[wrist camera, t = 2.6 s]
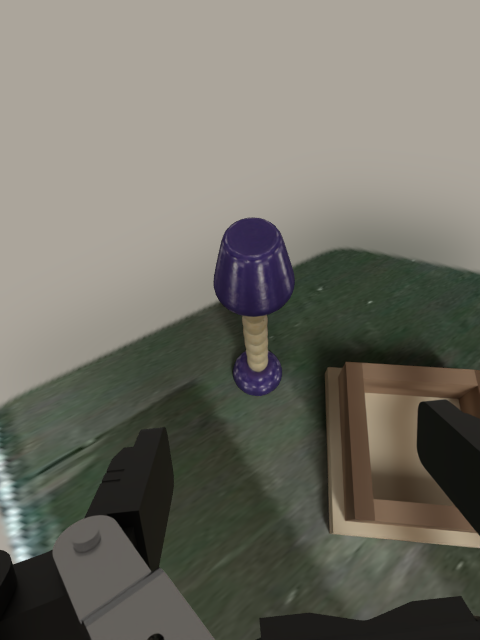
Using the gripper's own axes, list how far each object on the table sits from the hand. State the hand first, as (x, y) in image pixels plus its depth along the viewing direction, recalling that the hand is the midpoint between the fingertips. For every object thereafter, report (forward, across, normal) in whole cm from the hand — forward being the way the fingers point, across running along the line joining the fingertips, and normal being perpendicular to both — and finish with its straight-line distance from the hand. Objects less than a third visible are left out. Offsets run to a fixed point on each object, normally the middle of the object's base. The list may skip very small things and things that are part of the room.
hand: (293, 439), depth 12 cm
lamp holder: (+14, -11, +12) cm, 21 cm away
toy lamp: (+20, 0, +6) cm, 21 cm away
